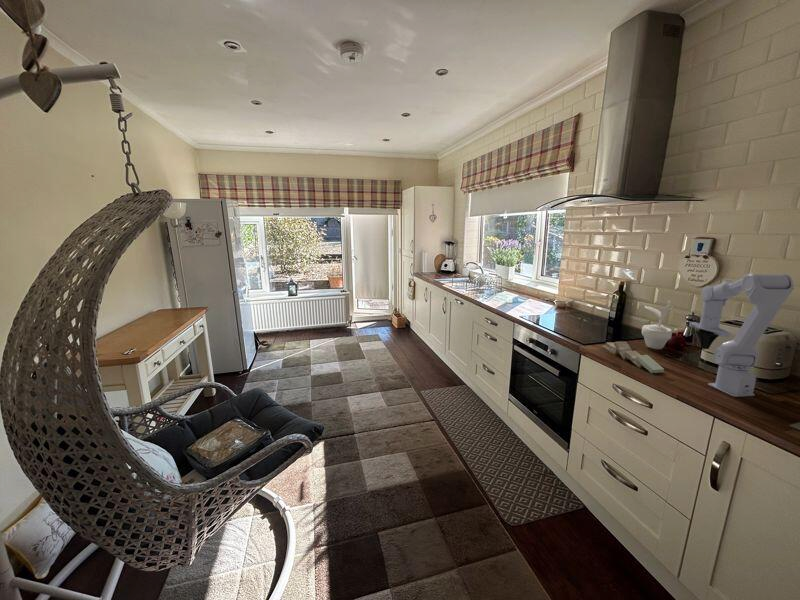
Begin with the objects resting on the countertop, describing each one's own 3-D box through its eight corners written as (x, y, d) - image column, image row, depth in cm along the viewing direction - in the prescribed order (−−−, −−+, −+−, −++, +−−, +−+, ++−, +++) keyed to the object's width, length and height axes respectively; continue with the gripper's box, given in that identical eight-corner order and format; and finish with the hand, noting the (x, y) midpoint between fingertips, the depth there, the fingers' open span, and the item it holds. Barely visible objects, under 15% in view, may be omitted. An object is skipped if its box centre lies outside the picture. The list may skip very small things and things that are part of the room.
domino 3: (636, 356, 148) (626, 341, 155) (625, 357, 148) (615, 341, 154) (634, 359, 149) (624, 344, 156) (623, 359, 149) (613, 344, 156)
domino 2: (625, 351, 155) (612, 345, 164) (614, 352, 155) (602, 345, 164) (624, 355, 155) (612, 348, 164) (614, 355, 155) (602, 348, 164)
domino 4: (651, 363, 140) (635, 350, 148) (640, 364, 140) (625, 351, 148) (649, 366, 141) (634, 354, 149) (639, 367, 140) (624, 354, 148)
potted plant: (674, 349, 160) (683, 298, 154) (659, 353, 156) (667, 301, 150) (647, 341, 171) (654, 293, 166) (632, 344, 167) (639, 296, 162)
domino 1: (627, 349, 153) (617, 342, 162) (616, 349, 154) (606, 342, 163) (627, 352, 154) (616, 346, 163) (615, 352, 154) (605, 345, 163)
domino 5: (664, 369, 135) (647, 354, 142) (653, 369, 134) (636, 355, 142) (662, 372, 136) (645, 358, 143) (651, 373, 135) (635, 358, 143)
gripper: (739, 320, 125) (732, 354, 128) (702, 311, 139) (696, 342, 142) (722, 321, 125) (716, 355, 128) (686, 312, 139) (681, 342, 142)
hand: (704, 348), depth 135 cm, fingers closed
